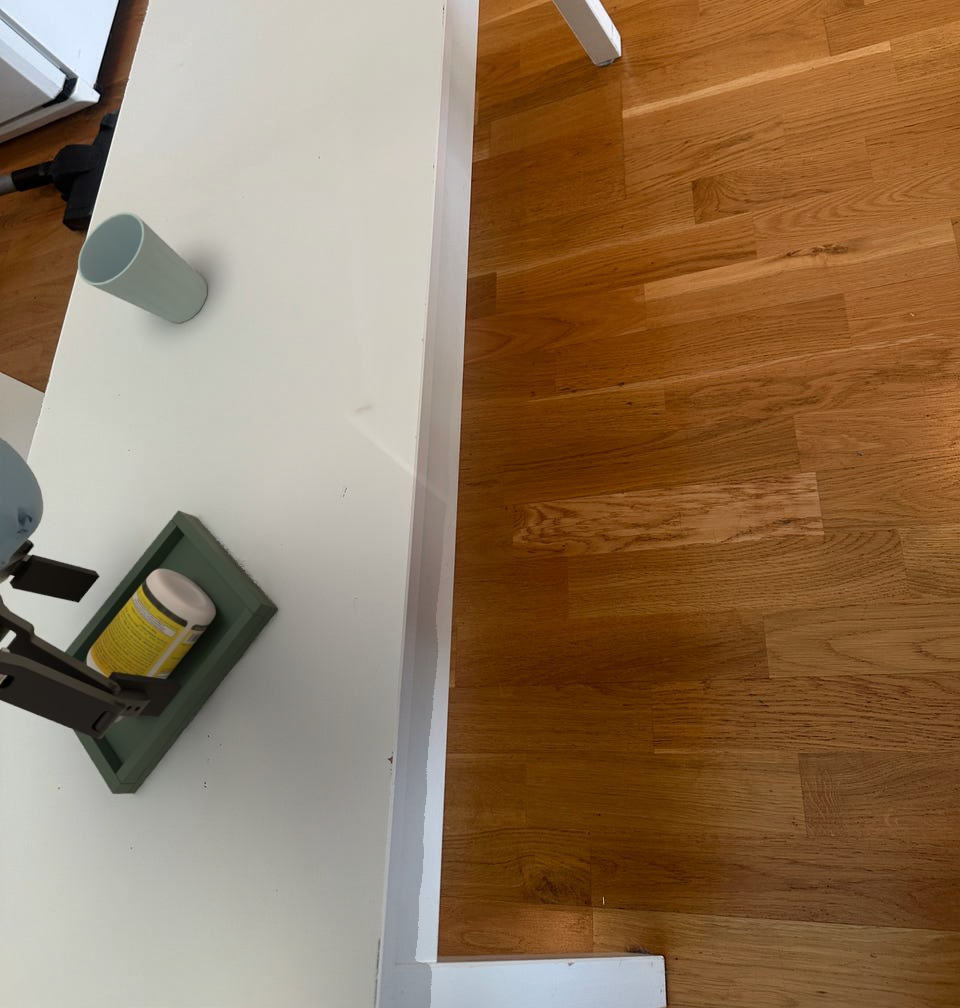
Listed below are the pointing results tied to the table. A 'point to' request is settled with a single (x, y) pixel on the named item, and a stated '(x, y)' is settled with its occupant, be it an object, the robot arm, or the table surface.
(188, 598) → the pill bottle
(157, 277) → the cup
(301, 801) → the table surface
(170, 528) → the tray
